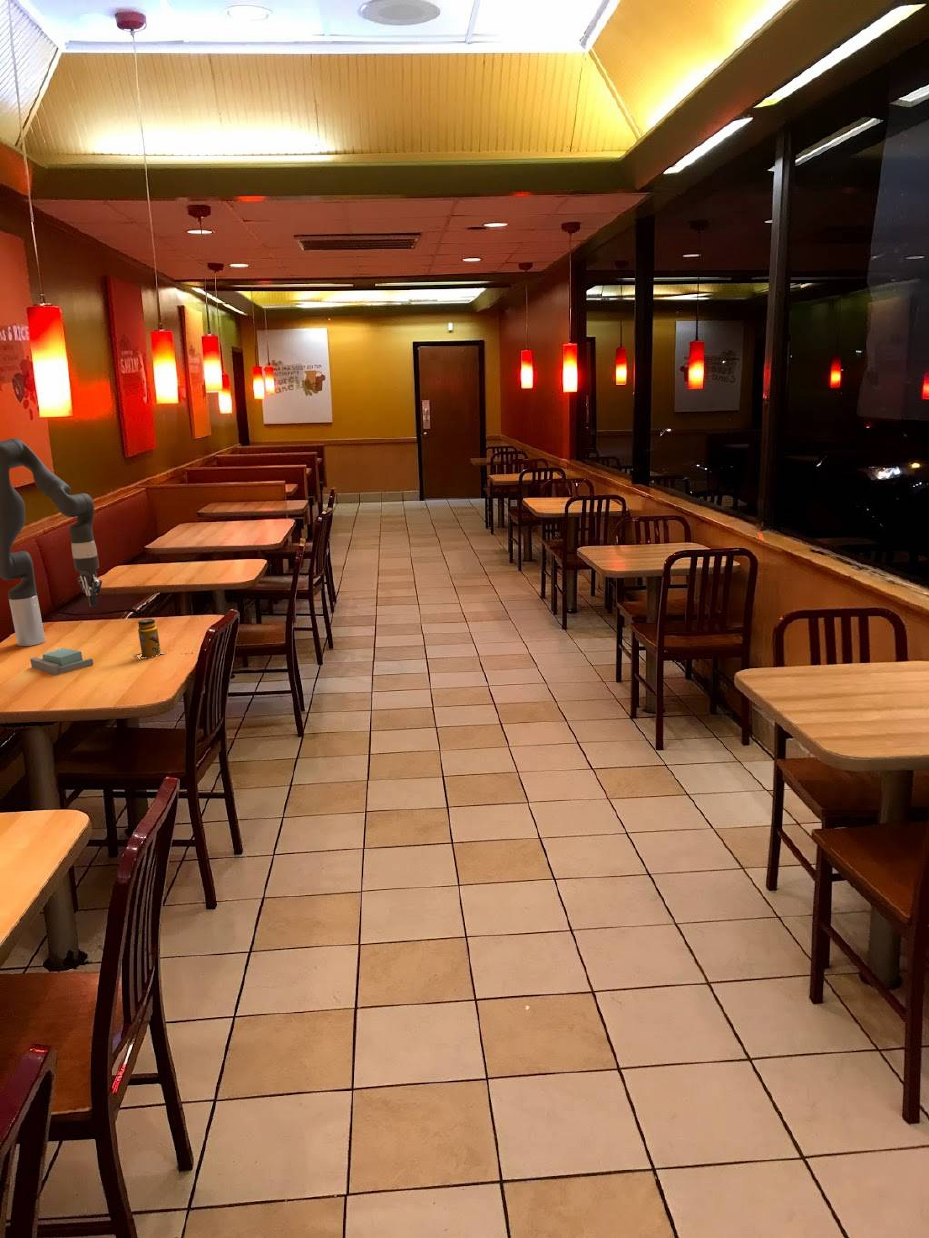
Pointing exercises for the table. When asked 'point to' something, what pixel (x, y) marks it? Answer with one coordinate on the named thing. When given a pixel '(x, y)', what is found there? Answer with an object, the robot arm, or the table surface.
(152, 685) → the table surface
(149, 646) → the condiment
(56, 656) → the carton
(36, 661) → the grey u-shaped bracket
